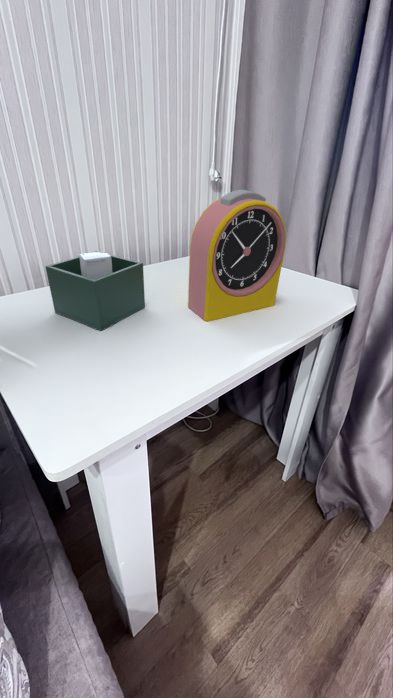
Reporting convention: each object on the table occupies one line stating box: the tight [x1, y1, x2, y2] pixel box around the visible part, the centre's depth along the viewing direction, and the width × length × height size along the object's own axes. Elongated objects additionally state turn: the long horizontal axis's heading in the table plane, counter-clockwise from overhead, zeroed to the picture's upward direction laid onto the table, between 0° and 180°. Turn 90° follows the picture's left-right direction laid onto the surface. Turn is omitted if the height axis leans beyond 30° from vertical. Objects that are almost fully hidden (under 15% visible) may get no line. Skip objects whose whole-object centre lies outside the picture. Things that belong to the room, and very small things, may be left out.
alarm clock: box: [187, 189, 287, 322], centre depth 76 cm, size 21×9×26 cm, turn 120°
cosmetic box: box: [78, 251, 113, 280], centre depth 74 cm, size 6×4×12 cm
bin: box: [45, 250, 146, 332], centre depth 75 cm, size 15×15×11 cm
